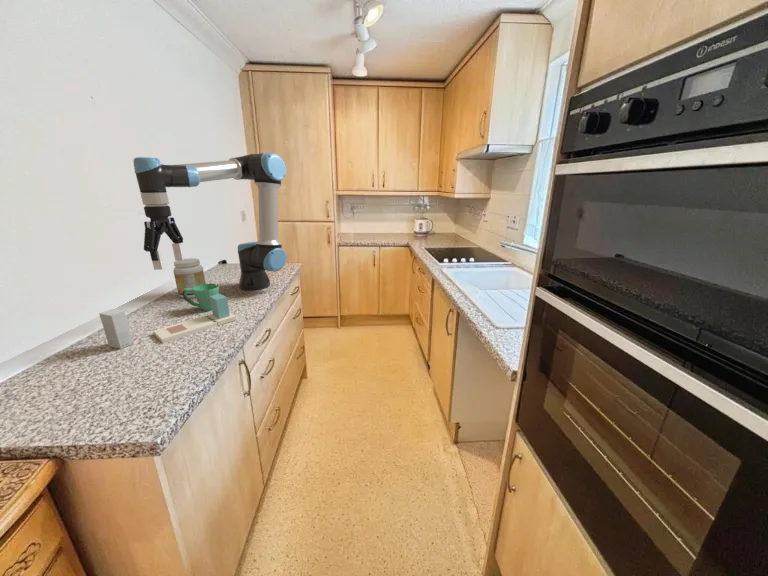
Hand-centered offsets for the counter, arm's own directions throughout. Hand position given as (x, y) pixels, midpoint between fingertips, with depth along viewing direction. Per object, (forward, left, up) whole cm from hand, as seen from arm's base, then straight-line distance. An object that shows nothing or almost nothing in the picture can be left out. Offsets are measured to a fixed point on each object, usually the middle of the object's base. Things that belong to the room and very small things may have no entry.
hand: (169, 264), depth 116 cm
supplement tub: (-15, -30, -23) cm, 41 cm away
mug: (-11, -7, -23) cm, 26 cm away
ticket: (+2, +10, -23) cm, 25 cm away
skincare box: (+20, +6, -23) cm, 31 cm away
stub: (-11, +10, -23) cm, 27 cm away
